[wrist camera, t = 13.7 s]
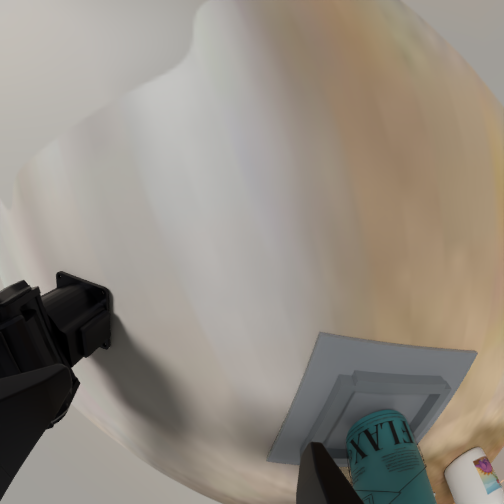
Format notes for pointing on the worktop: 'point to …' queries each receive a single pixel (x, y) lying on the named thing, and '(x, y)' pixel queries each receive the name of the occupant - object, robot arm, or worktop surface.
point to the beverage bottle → (387, 461)
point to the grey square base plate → (366, 391)
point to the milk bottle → (474, 479)
